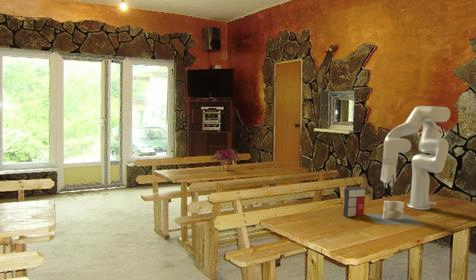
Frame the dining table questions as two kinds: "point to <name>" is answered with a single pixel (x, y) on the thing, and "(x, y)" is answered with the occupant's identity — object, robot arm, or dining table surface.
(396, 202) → the tile
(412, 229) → the dining table surface
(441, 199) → the dining table surface
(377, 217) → the mat
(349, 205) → the grey and red box
